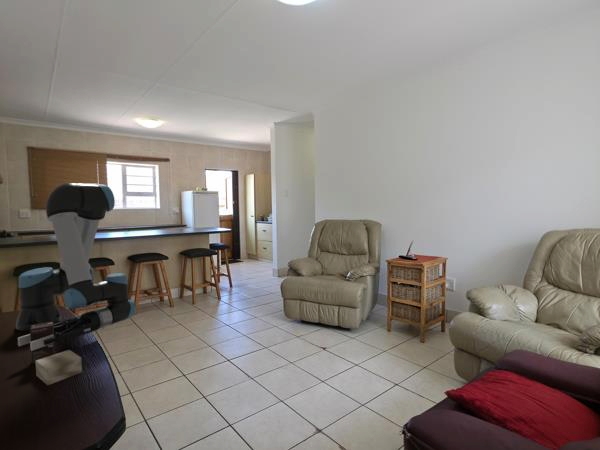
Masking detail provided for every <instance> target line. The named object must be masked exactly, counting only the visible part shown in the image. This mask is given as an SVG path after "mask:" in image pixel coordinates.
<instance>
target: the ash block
mask: <svg viewBox="0 0 600 450" xmlns="http://www.w3.org/2000/svg"><path fill="white" fill-rule="evenodd" d="M35 362H36V363H35V375H36V377H38V378H39V379H40V380H41V381H42V382H43V383H44V384H45V385H46V386H49V385H52V384H55V383H57V382H60V381H62V380H65V379H68V378H71V377H73V376H76V375H78V374H81V373H83V366H82V365H83V364H82V357H81V356H80V355H79V354H77V353H75V352H73V351H72V350H70V349H67V350H64V351H61V352H58V353H55V354H54V355H51V356H48V357H45V358H42V359H39V360H36V361H35Z"/></svg>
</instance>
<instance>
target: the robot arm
mask: <svg viewBox="0 0 600 450" xmlns="http://www.w3.org/2000/svg"><path fill="white" fill-rule="evenodd" d="M115 206H116V200H115V195H114V193H113V190H112V189H111V188H110V187H109V186H108V185H106V184H102V183H101V184H99V183H78V182H77V183H74V182H66V183H62V184H59V185H58V186H57V187H55V188H54V189H53V190H52V191H51V192H50V194H49V196H48V197H47V200H46V205H45V213H46V217H47V221H49V222H51V224H52V226H53V231H54V234H55V238H56V242H57V246H58V250H59V253H60V257H61V260H62V261H61V262H60V265H59V268H57V269H53V267H51V266H50V267H49V266H48V267H47V266H44V267H38V268H33V269H30V270H27V271H24V272H23V273H21V274H20V275H19V276H18V285H17V288H18V293H19V294H18V295H19V306H20V310H19V312H18V316H17V319H16V322H15V329H16V330H17V331H20V332H30V328H31V325H35V324H41V323H48V322H53V325H54V335H53V334H52V335H49V336H46V337H43V338H40V339H38V340H35V341H32V342H31V336H30V333H29V334H26V335H22V336H19V337H17V346H18V347H22V346H24V345H27V344H30V345H29V346H30V352H31V351H33V350H36V349H38V348H41V347H44V346H47V345H49V344H52V343H54V344H55V343H61V344H63V343H67V342H68V341H70V340H74V339H75V338H78V337H80V336H83V335H86V334H89V333H92V332H95V331H99V330H101V329H102V330H103V329H105V328H106V327H109V326H111V325H114V324H117V323H119V322H122V321H126V320H128V319H130V318H132V317H134V315H136V310H137V308H136V306H135V303H134V301H133V300H132V299H129V293H128V292H129V291H128V284H129V283H128V276H127V275H126V274H125V273H123V272H117V273H109V274H107V275H106V276H105V281H101V282H100V281H99V282H96V283H94V279H95V275H94V274H95V271H94V269H93V267H92V265H91V264H90V263H89V262H90V256H91V253H92V249H93V245H94V242H95V239H96V234H97V230H98V227H99V224H100V221H102V220H104V218H105V216H106V212H109V213H110V212H111V211H112V210H113V209H114V207H115ZM58 296H59V297H60V296H63V303H64V305H65V307H66V308H67V309H69V310H75V309H80V308H85V307H88V306H91V305H95V304H99V303H103V302H107V306H101V307H99V308H97V309H94V310H90V311H87V312H84V313H82V314H81V315H80V317H79V318H78V319H72V320H71V321H70V319H65V320H62V316H61V313H60V311H59V309H58V307H57V304H56V297H58Z"/></svg>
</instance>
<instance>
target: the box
mask: <svg viewBox="0 0 600 450" xmlns="http://www.w3.org/2000/svg"><path fill="white" fill-rule="evenodd" d="M29 332H30V333H29V334H30V336H31V342H32V341H35V340H38V339H40V338H43V337H46V336H49V335H52V334H53V335H54V336H55V334H54V325H53V322H48V323H41V324H35V325H31V328H30V331H29ZM30 352H31V364H32V365H34V364H36V362H35V361H36V360H39V359H42V358H45V357H48V356H51V355H54V354H56V349H55V342H54V343H52V344H49V345H47V346H44V347H41V348H38V349H36V350H33V351H31V350H30Z"/></svg>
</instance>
